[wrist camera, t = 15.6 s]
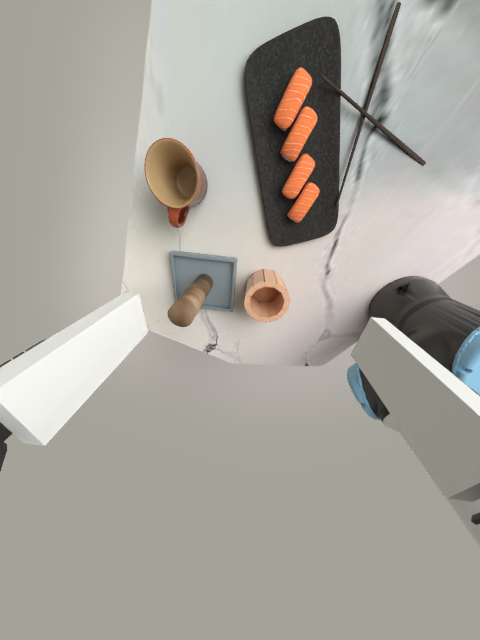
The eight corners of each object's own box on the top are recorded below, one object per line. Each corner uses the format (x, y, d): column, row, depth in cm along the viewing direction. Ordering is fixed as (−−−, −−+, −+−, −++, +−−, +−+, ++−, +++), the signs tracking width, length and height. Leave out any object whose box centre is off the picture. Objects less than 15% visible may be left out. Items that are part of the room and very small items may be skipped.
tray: (237, 257, 44) (236, 259, 42) (233, 307, 51) (232, 311, 49) (173, 250, 44) (169, 252, 42) (178, 301, 51) (175, 304, 49)
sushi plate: (240, 62, 29) (238, 43, 25) (465, -44, 23) (500, -87, 20) (270, 248, 43) (271, 251, 40) (414, 211, 37) (429, 211, 34)
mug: (171, 150, 34) (142, 129, 26) (215, 163, 35) (202, 147, 26) (169, 219, 41) (146, 221, 32) (207, 230, 41) (194, 234, 32)
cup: (287, 271, 45) (294, 284, 37) (279, 307, 50) (284, 324, 42) (248, 267, 45) (247, 278, 37) (244, 302, 50) (242, 319, 42)
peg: (213, 274, 46) (192, 306, 30) (213, 291, 48) (193, 328, 33) (196, 272, 46) (166, 303, 30) (196, 289, 48) (169, 325, 33)
